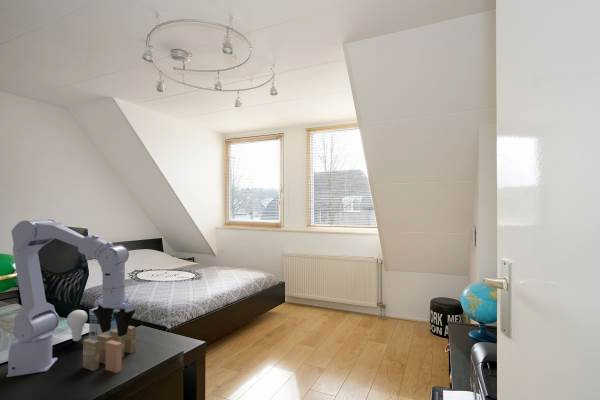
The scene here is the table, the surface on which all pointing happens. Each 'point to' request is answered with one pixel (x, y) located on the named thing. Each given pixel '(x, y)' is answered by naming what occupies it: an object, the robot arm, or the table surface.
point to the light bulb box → (95, 326)
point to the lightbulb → (77, 323)
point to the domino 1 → (90, 354)
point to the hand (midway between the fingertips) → (114, 333)
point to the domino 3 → (117, 338)
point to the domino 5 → (130, 340)
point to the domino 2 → (103, 346)
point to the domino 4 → (113, 356)
